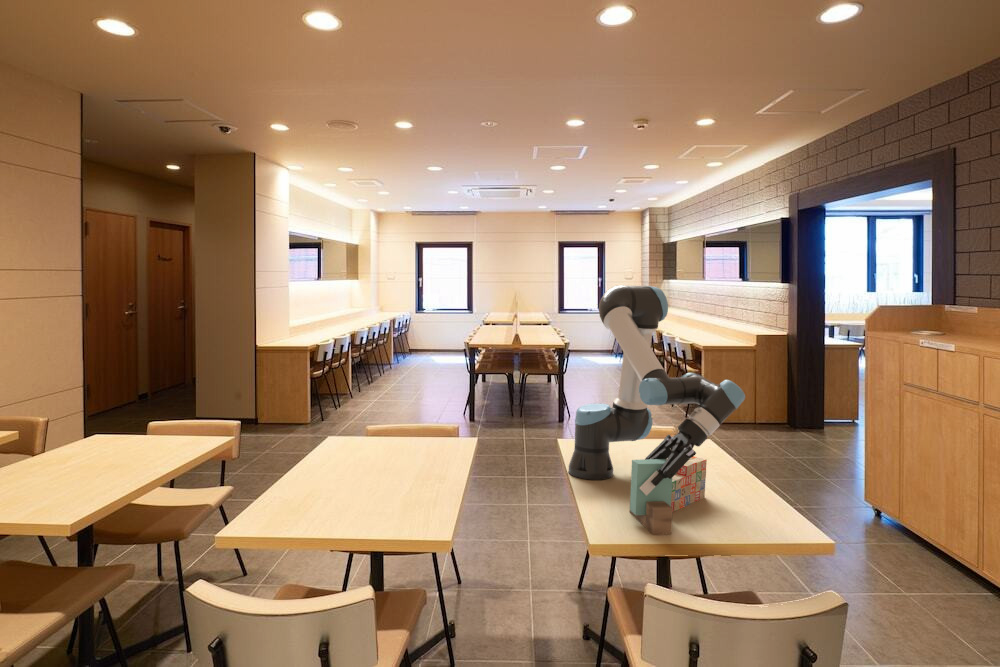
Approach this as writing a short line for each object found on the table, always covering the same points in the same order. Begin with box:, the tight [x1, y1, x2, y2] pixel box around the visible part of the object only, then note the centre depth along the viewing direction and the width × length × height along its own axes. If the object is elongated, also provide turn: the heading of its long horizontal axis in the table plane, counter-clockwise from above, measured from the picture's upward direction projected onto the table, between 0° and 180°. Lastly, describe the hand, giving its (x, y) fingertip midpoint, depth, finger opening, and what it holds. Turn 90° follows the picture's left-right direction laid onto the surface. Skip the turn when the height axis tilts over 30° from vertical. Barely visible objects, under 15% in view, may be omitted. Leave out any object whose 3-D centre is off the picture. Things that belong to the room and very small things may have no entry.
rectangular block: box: [629, 458, 672, 515], centre depth 167 cm, size 4×10×14 cm, turn 100°
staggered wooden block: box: [629, 489, 673, 536], centre depth 167 cm, size 16×5×7 cm, turn 10°
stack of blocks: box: [671, 455, 707, 513], centre depth 183 cm, size 21×6×12 cm, turn 134°
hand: (638, 487), depth 166 cm, fingers open, 5 cm apart
